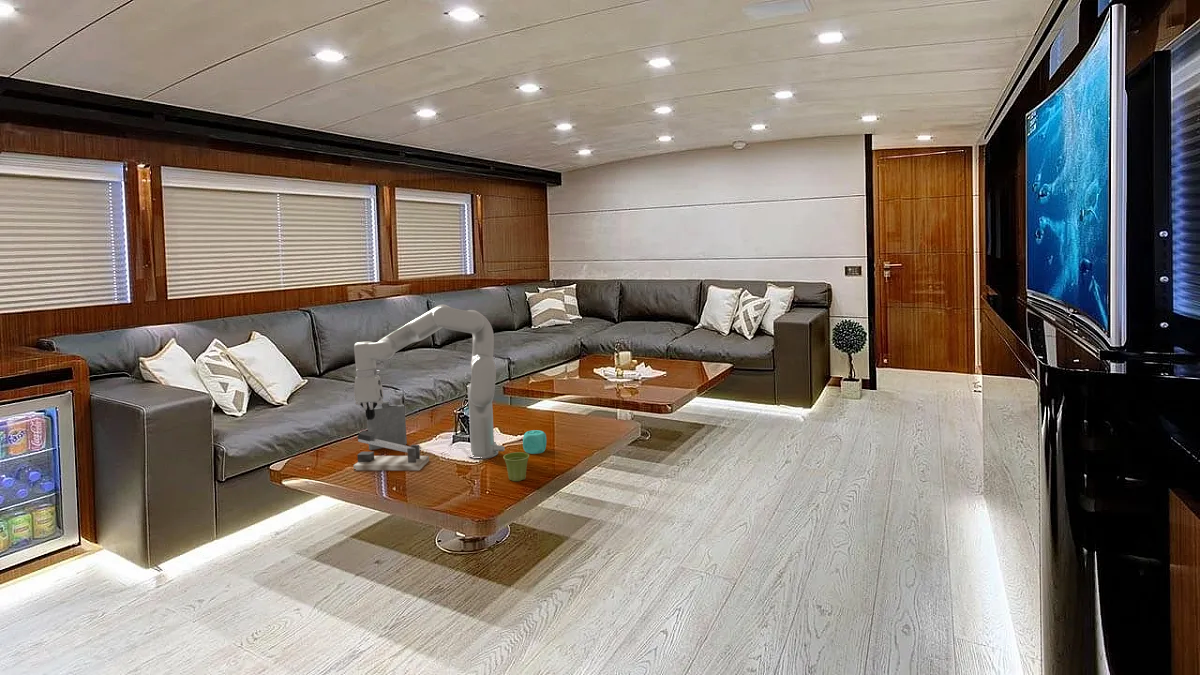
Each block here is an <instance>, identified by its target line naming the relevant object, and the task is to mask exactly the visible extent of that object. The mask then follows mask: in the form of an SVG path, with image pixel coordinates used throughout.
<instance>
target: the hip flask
mask: <svg viewBox="0 0 1200 675" xmlns="http://www.w3.org/2000/svg"><path fill="white" fill-rule="evenodd" d="M405 409H406V407H405V405H404V404H390V400H383V403H382V404H381V406H376V407H375V408H374V410H375V417H374V419H372V420H370V419H369V420H367V419H366V425H367V431H369V432H373V433H376V434H375V438H374V439H378V440H383V441H387V442H392V443H396V444H401V445H405V446H407V445H406V444H408V442H407V441H408V440H407V439H408V438H407V426H406V425H407V422H406V410H405ZM384 448H385V447H380V446H376V445H371V444H368V450H370V451H372V450H373V451H375V450H379V449H384ZM385 449H386V448H385Z"/></svg>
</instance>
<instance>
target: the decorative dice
mask: <svg viewBox="0 0 1200 675" xmlns="http://www.w3.org/2000/svg"><path fill="white" fill-rule="evenodd" d="M547 441H548V440H547V434H546V432H544V431H543V430H539V429H538V430H537V429H536V430H535V429H533V430H528V431H526V432H525V433H524V434H523V438H522V448H523V451H524V453H527V454H529V455H530V454H531V455H536V454H538V455H539V454H542V453H544V452H545V450H546V449H547V448H546V447H547Z"/></svg>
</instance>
